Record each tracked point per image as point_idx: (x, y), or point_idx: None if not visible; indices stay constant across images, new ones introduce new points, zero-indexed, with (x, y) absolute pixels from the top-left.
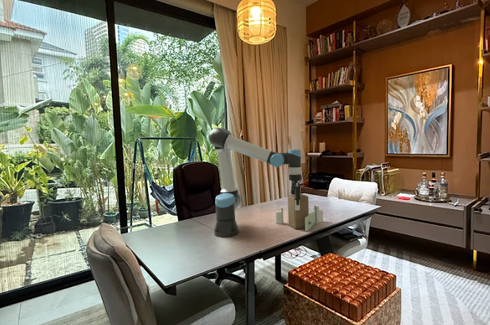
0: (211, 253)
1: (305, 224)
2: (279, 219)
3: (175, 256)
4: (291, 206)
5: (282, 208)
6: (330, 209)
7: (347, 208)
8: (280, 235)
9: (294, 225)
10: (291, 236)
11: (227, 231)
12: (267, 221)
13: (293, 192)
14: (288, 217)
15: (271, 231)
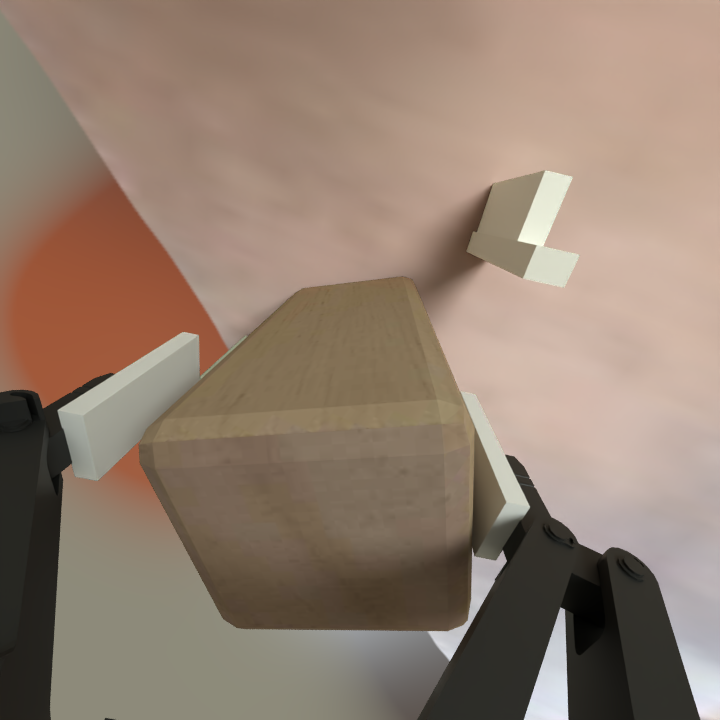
0: None
1: (224, 355)
2: (494, 217)
3: None
4: (313, 341)
5: (519, 267)
6: None
7: (550, 662)
8: (186, 114)
9: (301, 291)
10: (159, 201)
11: None
12: (614, 111)
13: (494, 586)
14: (404, 288)
15: (299, 54)
